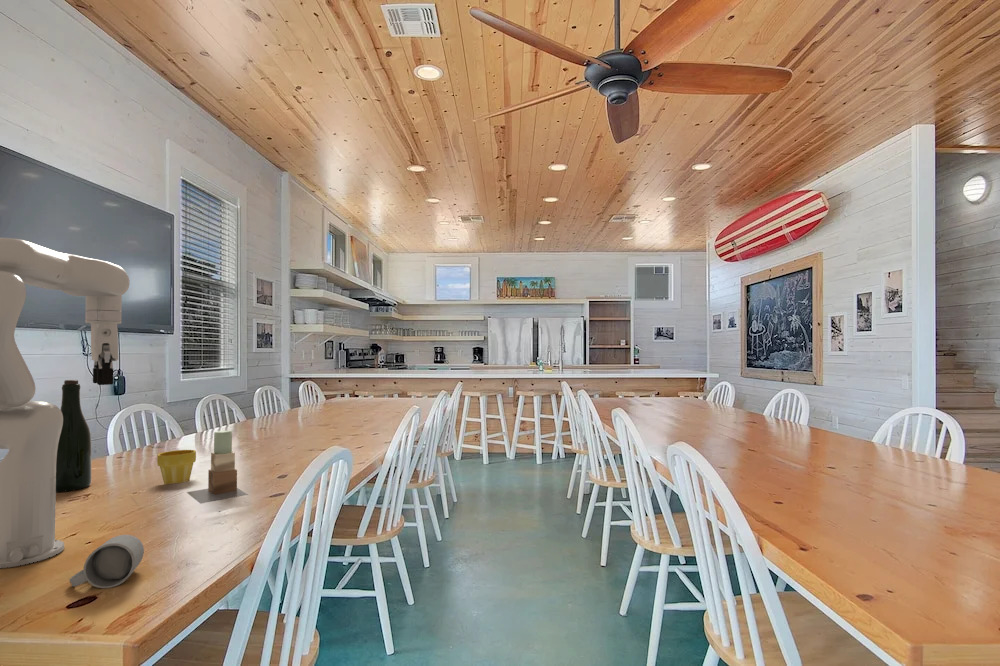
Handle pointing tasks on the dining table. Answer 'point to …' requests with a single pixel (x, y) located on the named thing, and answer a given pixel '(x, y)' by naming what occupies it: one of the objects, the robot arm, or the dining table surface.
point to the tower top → (222, 462)
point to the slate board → (207, 496)
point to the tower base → (222, 481)
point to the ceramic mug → (111, 562)
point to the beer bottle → (73, 442)
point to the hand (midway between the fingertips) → (102, 383)
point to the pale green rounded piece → (222, 442)
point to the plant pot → (176, 465)
